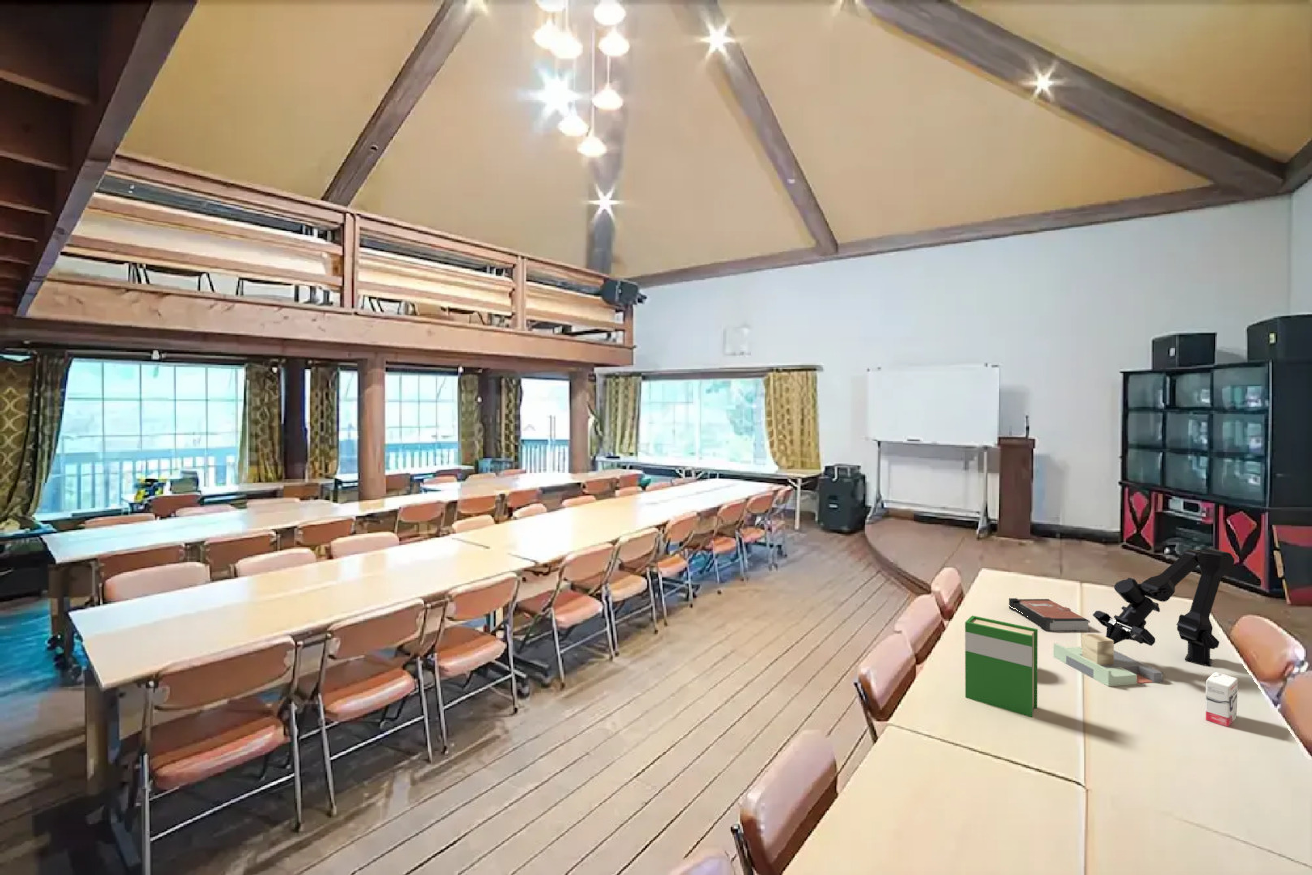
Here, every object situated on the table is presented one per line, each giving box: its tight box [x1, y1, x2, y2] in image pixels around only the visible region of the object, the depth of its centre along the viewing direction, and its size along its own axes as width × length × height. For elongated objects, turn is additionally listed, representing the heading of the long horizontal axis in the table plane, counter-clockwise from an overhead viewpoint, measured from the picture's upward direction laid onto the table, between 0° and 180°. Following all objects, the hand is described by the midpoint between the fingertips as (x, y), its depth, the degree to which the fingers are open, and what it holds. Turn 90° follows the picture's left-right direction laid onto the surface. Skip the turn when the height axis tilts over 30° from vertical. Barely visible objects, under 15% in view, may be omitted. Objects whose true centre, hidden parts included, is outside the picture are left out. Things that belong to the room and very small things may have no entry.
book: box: [1008, 597, 1091, 633], centre depth 240 cm, size 26×18×5 cm
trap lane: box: [1053, 642, 1163, 687], centre depth 195 cm, size 19×22×5 cm
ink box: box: [1205, 671, 1239, 728], centre depth 163 cm, size 8×5×12 cm, turn 123°
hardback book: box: [964, 615, 1039, 718], centre depth 175 cm, size 18×7×24 cm, turn 46°
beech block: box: [1081, 633, 1115, 665], centre depth 194 cm, size 6×6×8 cm
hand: (1106, 645), depth 194 cm, fingers closed
